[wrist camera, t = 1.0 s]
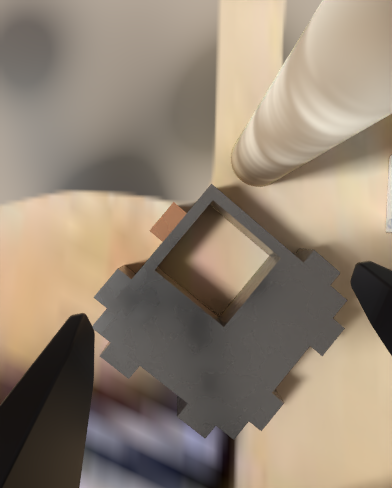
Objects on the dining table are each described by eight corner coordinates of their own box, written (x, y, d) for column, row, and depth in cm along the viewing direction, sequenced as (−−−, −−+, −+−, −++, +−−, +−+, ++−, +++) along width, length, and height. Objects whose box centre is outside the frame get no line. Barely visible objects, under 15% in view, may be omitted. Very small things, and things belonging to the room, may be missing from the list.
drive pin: (296, 156, 23) (480, 29, 9) (261, 197, 23) (392, 136, 9) (255, 119, 23) (379, -71, 9) (219, 161, 23) (287, 38, 9)
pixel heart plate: (349, 291, 23) (369, 297, 21) (229, 438, 23) (235, 462, 21) (206, 168, 22) (209, 159, 20) (78, 319, 22) (66, 330, 20)
